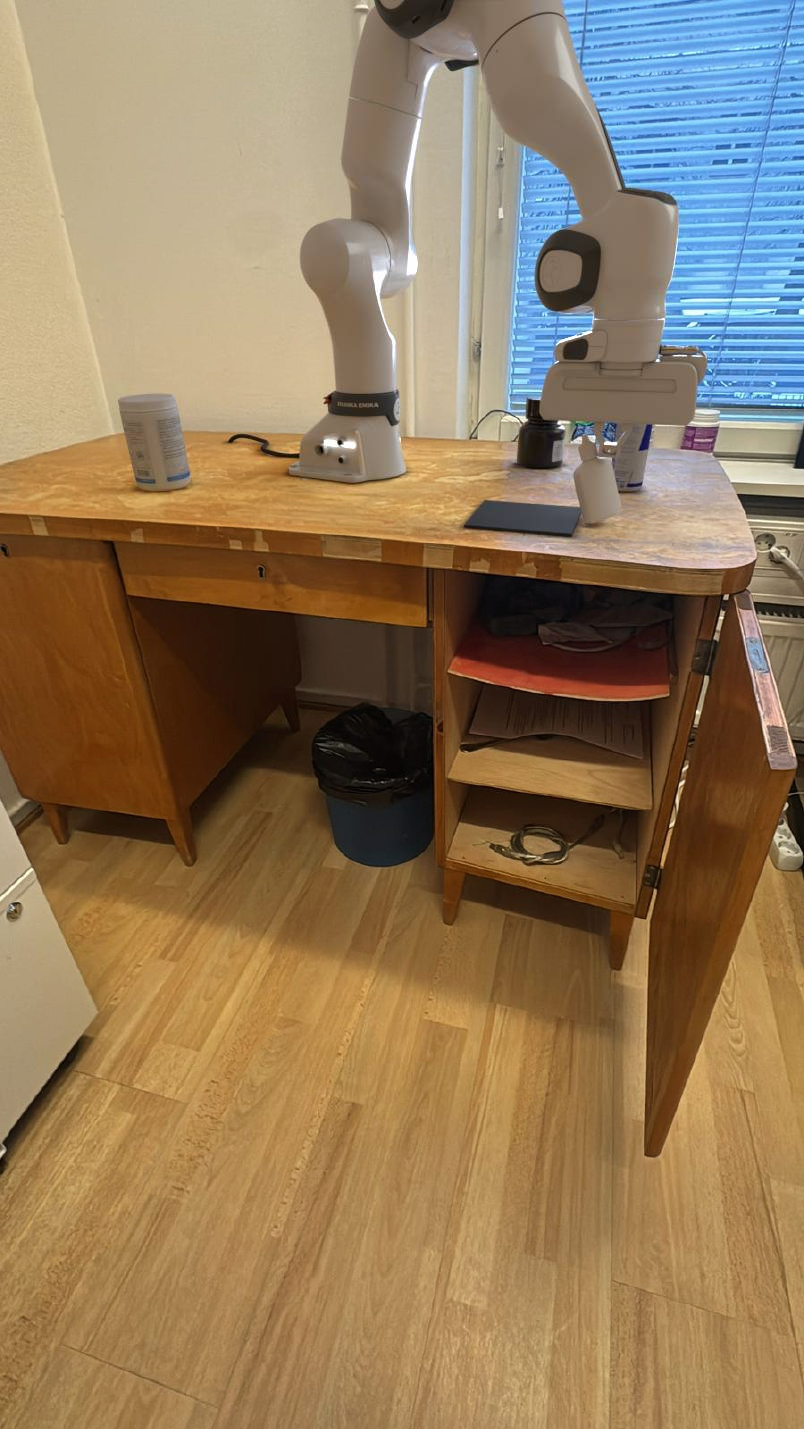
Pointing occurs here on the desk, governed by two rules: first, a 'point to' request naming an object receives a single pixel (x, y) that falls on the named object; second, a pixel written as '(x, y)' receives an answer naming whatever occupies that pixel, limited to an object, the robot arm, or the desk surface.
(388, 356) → the robot arm
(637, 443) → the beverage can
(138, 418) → the supplement tub
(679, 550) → the desk surface
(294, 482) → the desk surface
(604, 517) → the eye dropper bottle
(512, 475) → the desk surface
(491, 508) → the mat
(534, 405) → the ink bottle
